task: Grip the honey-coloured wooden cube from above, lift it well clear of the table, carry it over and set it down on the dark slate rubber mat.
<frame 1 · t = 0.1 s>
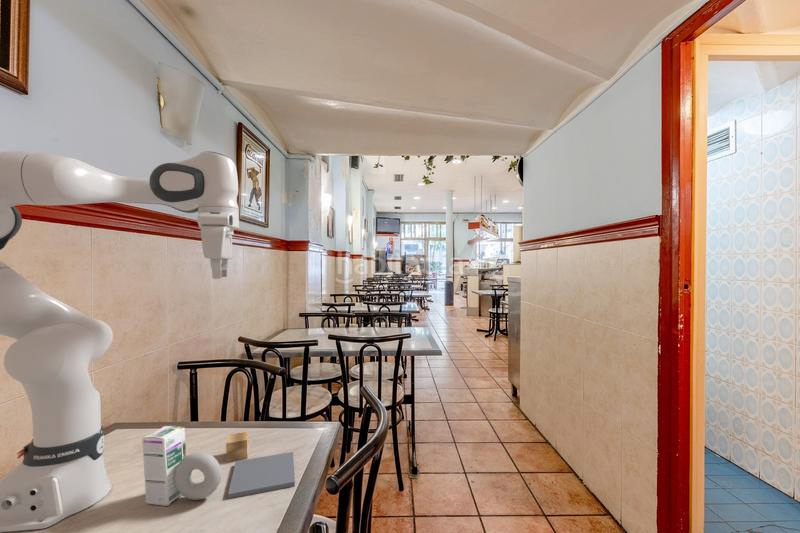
hand: (220, 277, 89), 48 cm above the table, tool pointing down, fingers open, 8 cm apart
donut: (198, 499, 80), on the table, touching syrup box
syrup box: (167, 497, 81), on the table, touching donut
slate mat: (263, 475, 89), on the table
oak cube: (238, 455, 98), on the table
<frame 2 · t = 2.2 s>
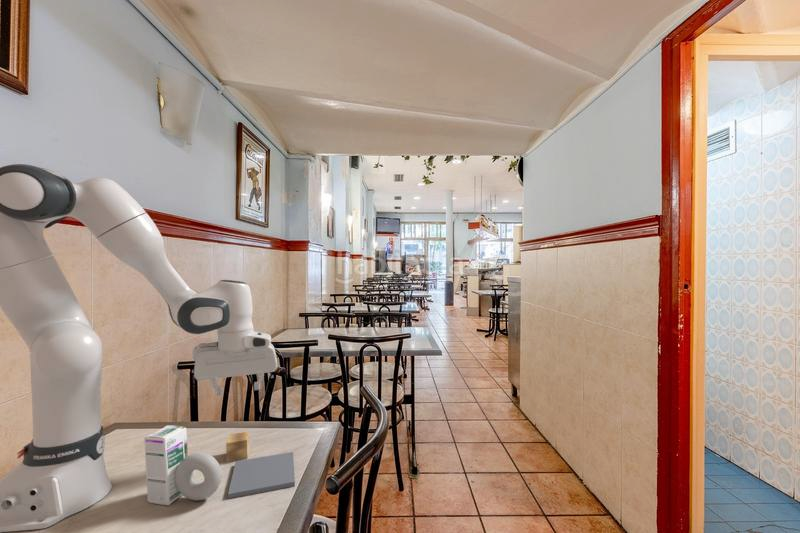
hand: (238, 391, 98), 17 cm above the table, tool pointing down, fingers open, 8 cm apart
syrup box: (168, 497, 81), on the table, touching donut
everything else where it was.
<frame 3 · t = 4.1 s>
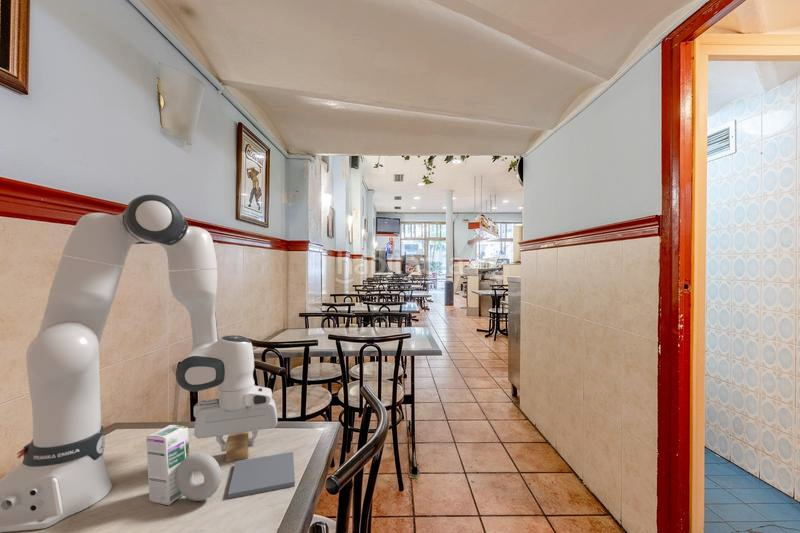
hand: (238, 448, 98), 2 cm above the table, tool pointing down, fingers closed on oak cube, 5 cm apart
donut: (198, 500, 80), on the table, touching syrup box
oak cube: (238, 455, 98), on the table, touching gripper
everything else where it was.
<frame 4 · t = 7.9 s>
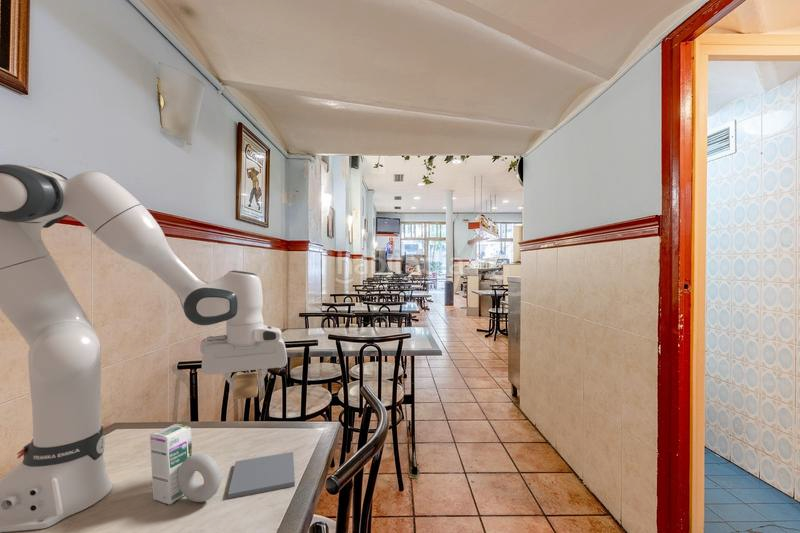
hand: (246, 387, 94), 19 cm above the table, tool pointing down, fingers closed on oak cube, 5 cm apart
syrup box: (173, 495, 82), on the table, touching donut
oak cube: (247, 394, 94), point 17 cm above the table, touching gripper
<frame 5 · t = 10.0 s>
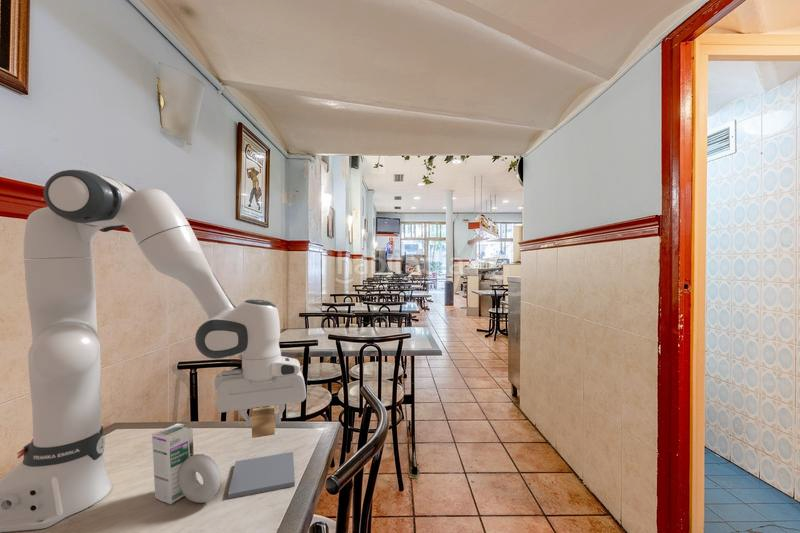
hand: (263, 423, 89), 12 cm above the table, tool pointing down, fingers closed on oak cube, 5 cm apart
donut: (199, 501, 79), on the table, touching syrup box
oak cube: (263, 431, 89), point 11 cm above the table, touching gripper
when the fingers open (4 cm above the table, at t = 11.9 s): oak cube drops 1 cm, resting on slate mat.
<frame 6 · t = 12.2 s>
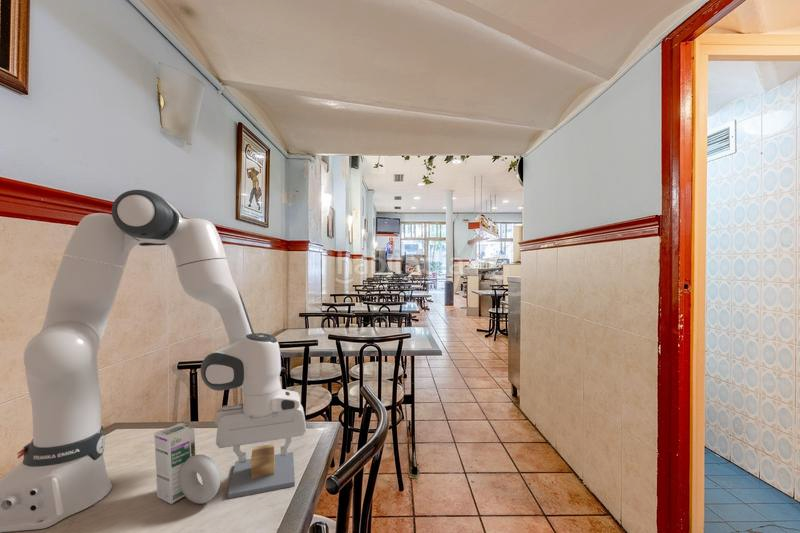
hand: (263, 458, 89), 4 cm above the table, tool pointing down, fingers open, 8 cm apart
donut: (199, 502, 79), on the table, touching syrup box
oak cube: (263, 470, 89), point 1 cm above the table, touching slate mat
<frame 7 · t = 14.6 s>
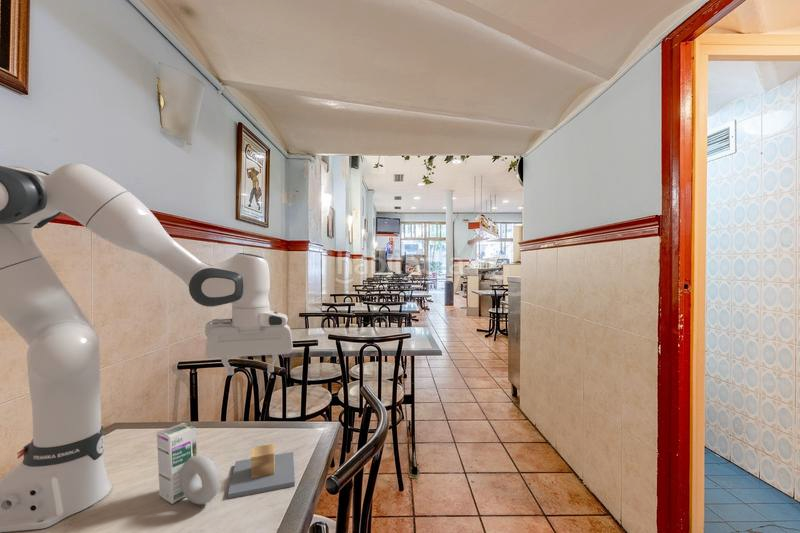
hand: (250, 373, 92), 24 cm above the table, tool pointing down, fingers open, 8 cm apart
syrup box: (178, 494, 82), on the table, touching donut
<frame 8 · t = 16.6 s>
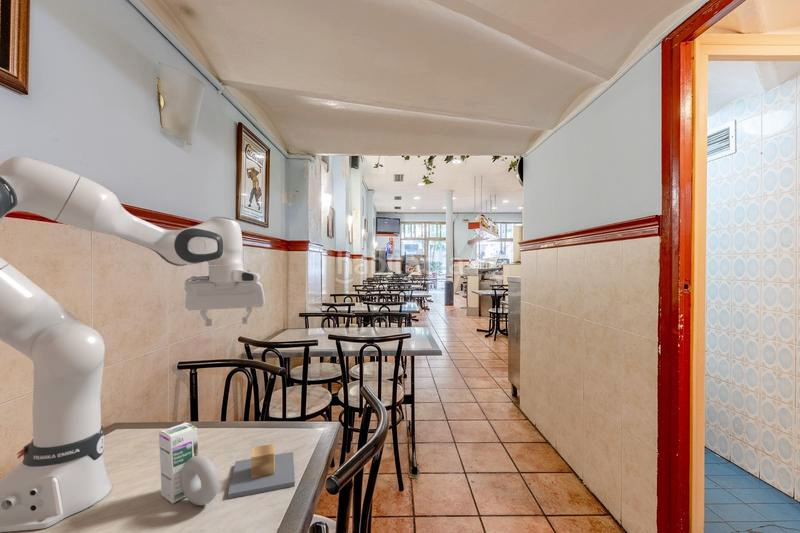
hand: (227, 324, 103), 34 cm above the table, tool pointing down, fingers open, 8 cm apart
donut: (199, 504, 79), on the table, touching syrup box
syrup box: (180, 494, 82), on the table, touching donut
everything else where it was.
at the end: oak cube inside the target area on the slate mat (0.1 cm from its centre), point 1.0 cm above the slate mat's base; oak cube tilted 0°; the gripper is holding nothing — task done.
